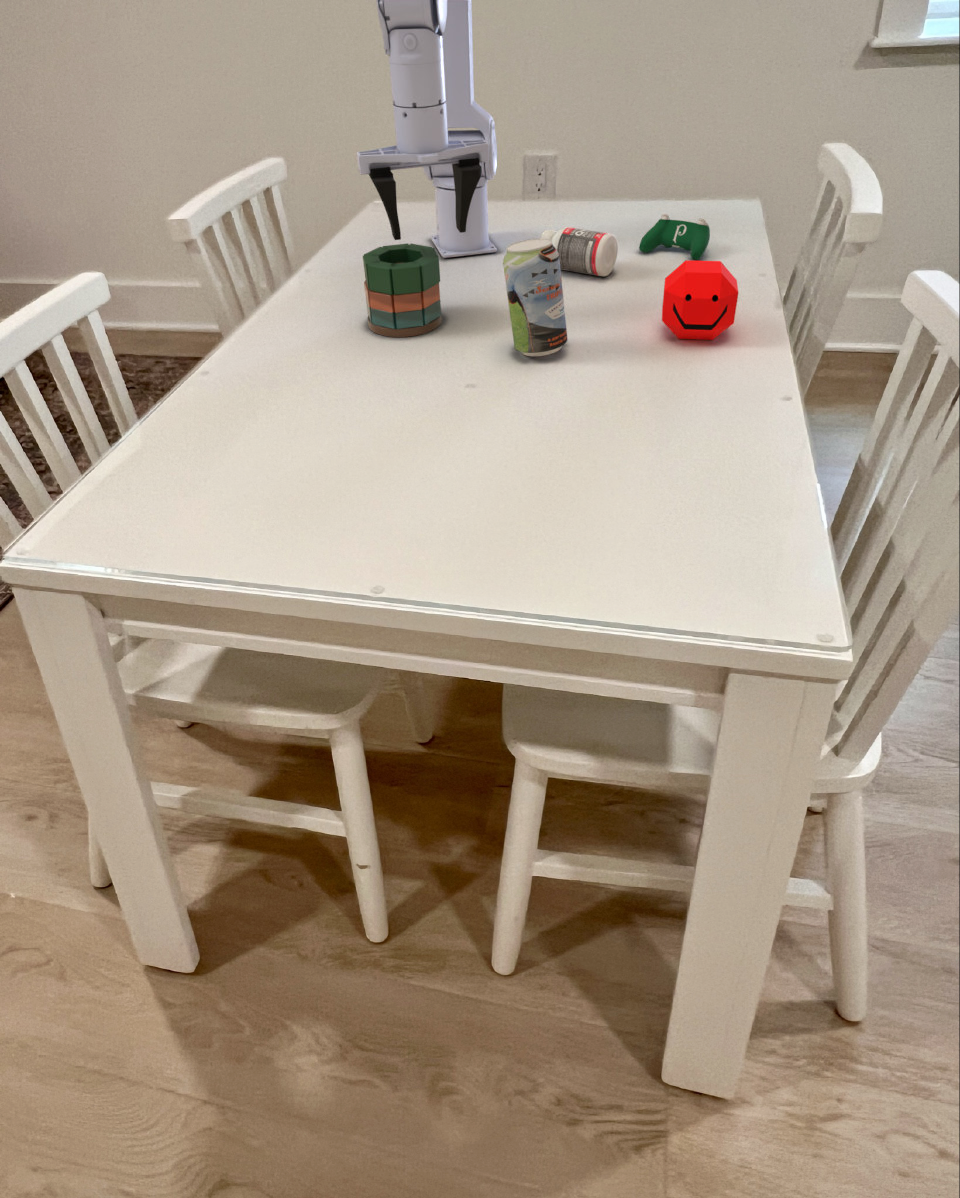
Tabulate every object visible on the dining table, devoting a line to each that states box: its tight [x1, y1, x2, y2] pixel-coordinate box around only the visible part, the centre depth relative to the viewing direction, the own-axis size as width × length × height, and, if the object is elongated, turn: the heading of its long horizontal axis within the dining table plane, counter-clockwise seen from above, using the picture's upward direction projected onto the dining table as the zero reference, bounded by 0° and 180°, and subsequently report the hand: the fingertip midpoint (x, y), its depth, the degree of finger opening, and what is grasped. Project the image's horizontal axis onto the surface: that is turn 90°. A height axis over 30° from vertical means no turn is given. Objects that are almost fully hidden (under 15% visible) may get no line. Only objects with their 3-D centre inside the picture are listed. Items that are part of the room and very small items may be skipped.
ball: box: [661, 259, 739, 341], centre depth 101 cm, size 8×8×8 cm
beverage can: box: [502, 238, 568, 357], centre depth 97 cm, size 6×7×12 cm
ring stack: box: [363, 262, 442, 338], centre depth 107 cm, size 9×9×7 cm
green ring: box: [362, 242, 441, 295], centre depth 105 cm, size 9×9×3 cm
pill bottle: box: [539, 226, 619, 277], centre depth 119 cm, size 5×5×10 cm
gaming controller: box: [638, 213, 711, 261], centre depth 124 cm, size 9×4×6 cm
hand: (429, 233), depth 104 cm, fingers open, 7 cm apart
